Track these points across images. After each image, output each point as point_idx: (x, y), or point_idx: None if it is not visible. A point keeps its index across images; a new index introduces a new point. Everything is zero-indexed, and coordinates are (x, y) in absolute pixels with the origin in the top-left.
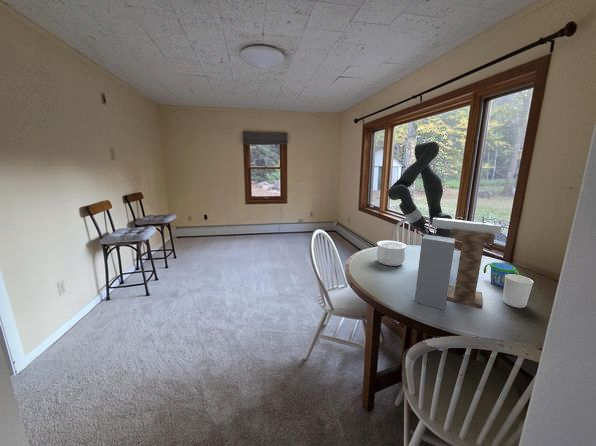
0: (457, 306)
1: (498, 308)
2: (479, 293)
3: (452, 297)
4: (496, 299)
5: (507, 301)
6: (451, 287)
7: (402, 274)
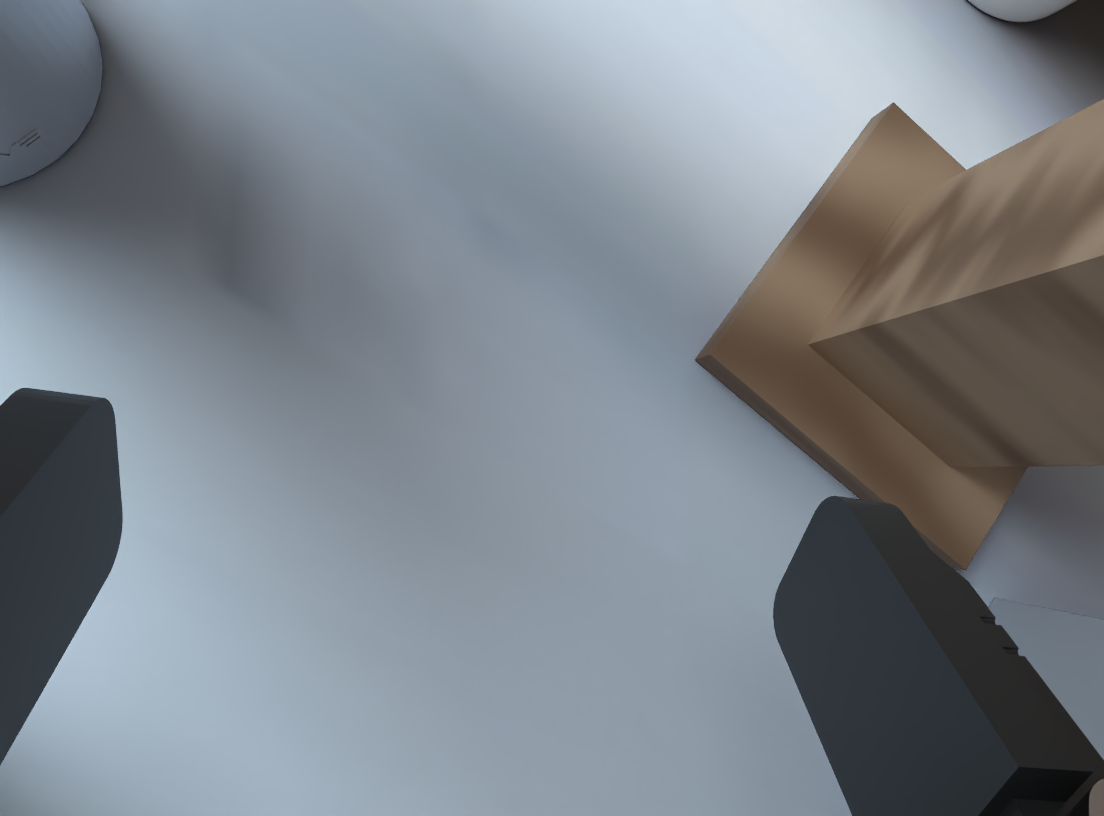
0: (1062, 530)
1: None
2: (912, 148)
3: (991, 514)
4: (944, 38)
5: (1052, 9)
6: (774, 364)
7: (232, 800)
